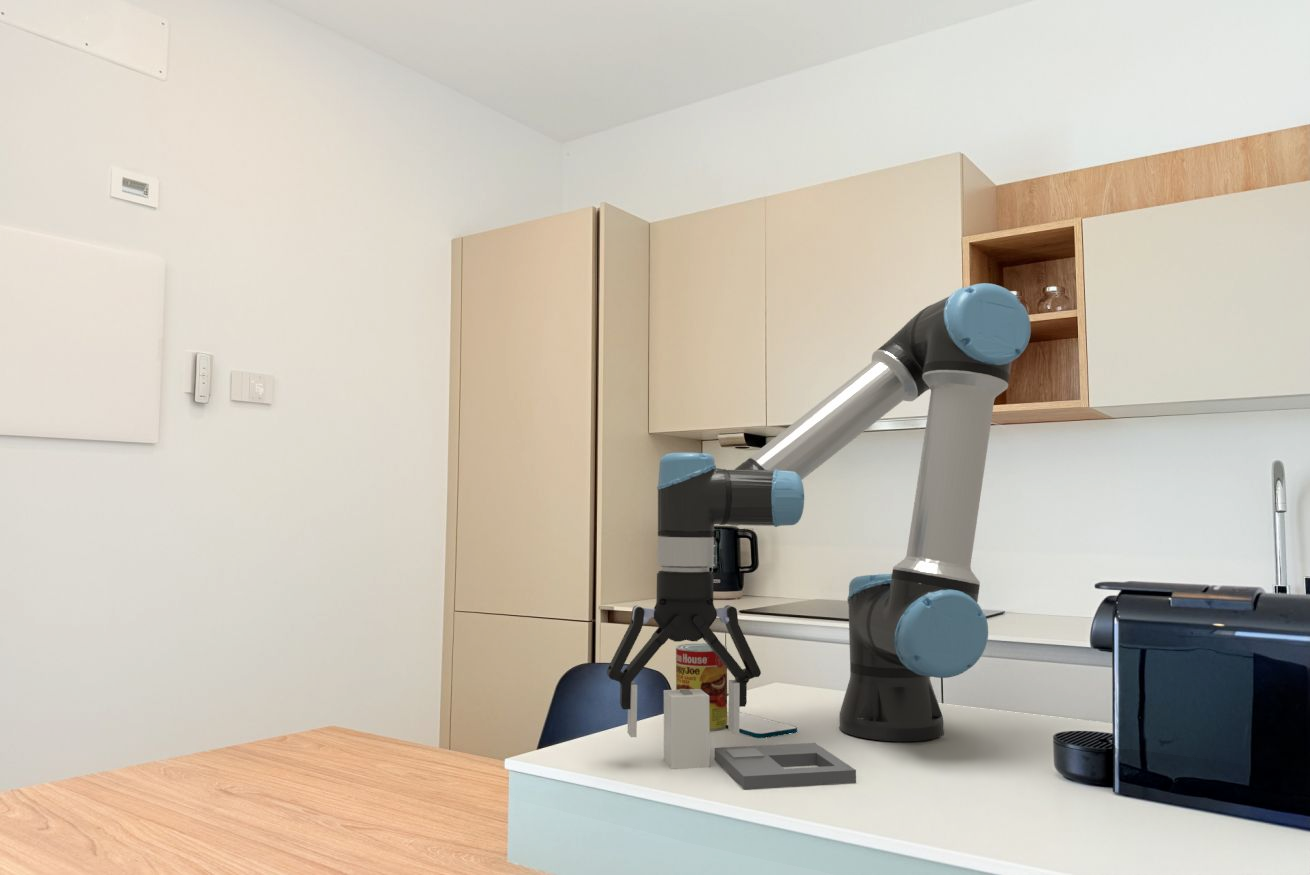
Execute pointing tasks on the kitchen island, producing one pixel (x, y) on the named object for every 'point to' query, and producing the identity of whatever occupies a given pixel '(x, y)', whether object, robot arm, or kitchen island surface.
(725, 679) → the canned food
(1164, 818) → the kitchen island surface
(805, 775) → the grey square base plate
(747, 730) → the smartphone
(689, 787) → the kitchen island surface
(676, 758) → the block
